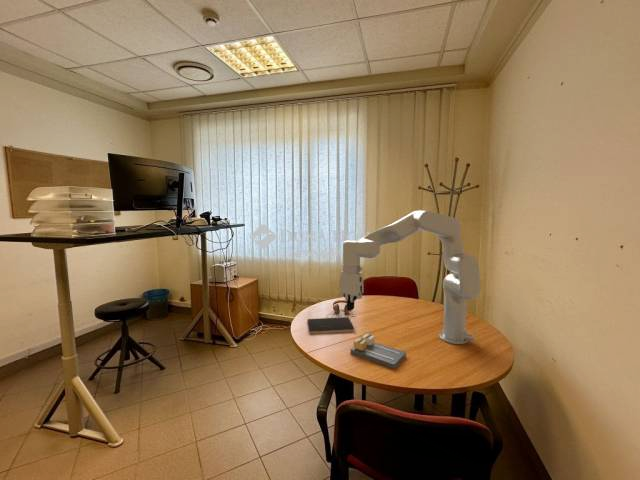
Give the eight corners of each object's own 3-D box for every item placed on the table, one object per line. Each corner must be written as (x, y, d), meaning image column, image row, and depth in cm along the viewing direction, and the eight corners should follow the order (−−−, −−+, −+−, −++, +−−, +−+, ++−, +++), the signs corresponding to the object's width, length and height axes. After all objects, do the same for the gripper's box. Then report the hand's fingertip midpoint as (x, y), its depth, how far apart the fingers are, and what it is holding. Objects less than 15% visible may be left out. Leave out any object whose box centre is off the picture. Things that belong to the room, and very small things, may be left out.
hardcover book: (354, 332, 145) (354, 328, 144) (309, 335, 142) (309, 330, 142) (348, 320, 160) (348, 316, 160) (307, 322, 158) (307, 318, 158)
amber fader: (366, 347, 124) (366, 339, 123) (361, 350, 120) (361, 342, 120) (358, 344, 126) (358, 336, 126) (353, 347, 123) (353, 339, 122)
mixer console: (405, 356, 120) (405, 351, 120) (394, 369, 111) (394, 364, 111) (364, 343, 132) (364, 338, 132) (350, 353, 123) (350, 348, 123)
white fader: (374, 342, 128) (374, 334, 127) (370, 345, 125) (370, 337, 124) (366, 339, 130) (366, 332, 130) (362, 343, 127) (362, 335, 127)
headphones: (325, 315, 160) (329, 296, 179) (326, 323, 162) (329, 304, 181) (355, 316, 158) (355, 297, 177) (355, 324, 160) (355, 305, 179)
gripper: (370, 269, 122) (369, 311, 124) (341, 265, 131) (340, 303, 133) (362, 272, 116) (361, 316, 118) (332, 268, 125) (331, 308, 127)
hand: (350, 309), depth 125 cm, fingers closed
